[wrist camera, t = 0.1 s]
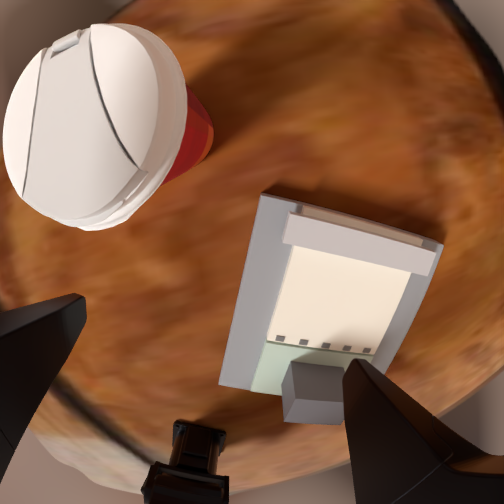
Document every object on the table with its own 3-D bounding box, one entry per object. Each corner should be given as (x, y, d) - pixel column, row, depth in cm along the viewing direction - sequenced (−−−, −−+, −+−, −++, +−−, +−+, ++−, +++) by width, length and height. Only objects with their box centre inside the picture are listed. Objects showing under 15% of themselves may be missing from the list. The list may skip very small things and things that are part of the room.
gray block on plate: (346, 395, 26) (357, 434, 21) (250, 385, 26) (249, 428, 21) (371, 351, 24) (389, 390, 19) (266, 337, 24) (267, 380, 19)
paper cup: (128, 99, 19) (-3, 64, 6) (223, 79, 19) (171, -18, 5) (138, 193, 22) (12, 250, 8) (233, 180, 21) (191, 227, 8)
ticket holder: (364, 391, 28) (371, 412, 25) (220, 374, 27) (216, 397, 24) (435, 240, 22) (455, 252, 19) (261, 192, 21) (261, 199, 18)
